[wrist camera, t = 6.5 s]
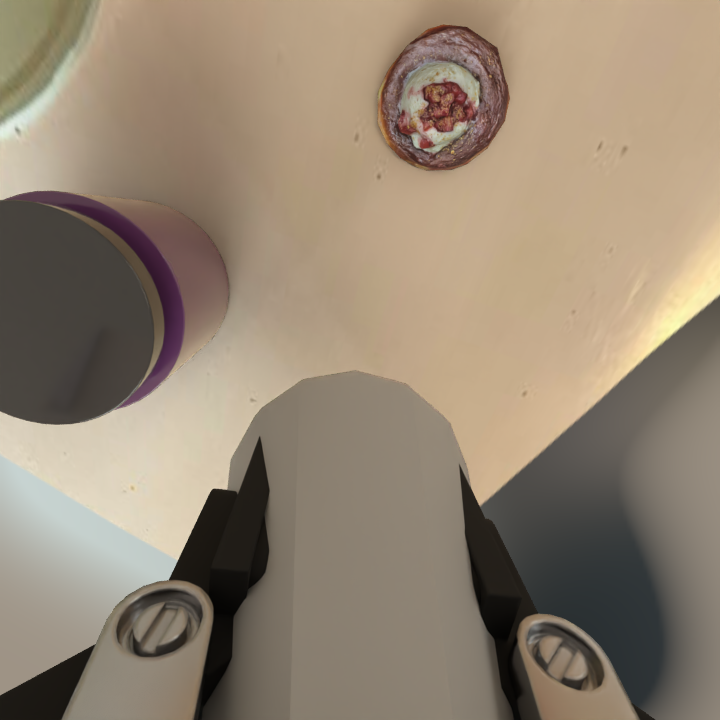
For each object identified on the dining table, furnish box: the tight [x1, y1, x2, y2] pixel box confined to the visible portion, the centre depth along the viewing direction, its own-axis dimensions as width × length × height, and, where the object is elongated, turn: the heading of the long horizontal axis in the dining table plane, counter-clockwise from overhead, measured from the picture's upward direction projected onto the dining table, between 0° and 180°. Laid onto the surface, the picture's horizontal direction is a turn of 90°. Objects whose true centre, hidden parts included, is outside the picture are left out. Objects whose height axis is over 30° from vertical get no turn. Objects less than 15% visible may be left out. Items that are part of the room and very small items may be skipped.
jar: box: [0, 191, 229, 425], centre depth 25 cm, size 11×11×12 cm
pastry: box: [378, 25, 510, 170], centre depth 25 cm, size 8×8×5 cm
